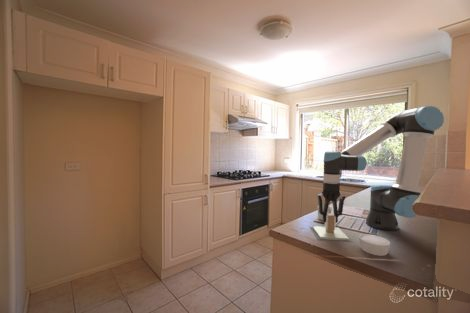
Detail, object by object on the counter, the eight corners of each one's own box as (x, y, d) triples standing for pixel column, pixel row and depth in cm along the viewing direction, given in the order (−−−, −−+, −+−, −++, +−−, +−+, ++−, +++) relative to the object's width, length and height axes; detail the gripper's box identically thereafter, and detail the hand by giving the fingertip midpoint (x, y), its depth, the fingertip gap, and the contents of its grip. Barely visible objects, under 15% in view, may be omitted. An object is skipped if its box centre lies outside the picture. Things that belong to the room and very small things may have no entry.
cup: (333, 224, 120) (334, 210, 120) (319, 223, 122) (319, 209, 122) (329, 218, 131) (329, 205, 131) (315, 217, 133) (316, 204, 132)
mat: (339, 229, 113) (340, 228, 113) (353, 243, 97) (353, 242, 97) (309, 227, 115) (309, 227, 115) (317, 241, 99) (317, 240, 99)
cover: (338, 229, 112) (338, 210, 111) (349, 240, 99) (349, 219, 98) (312, 228, 113) (313, 209, 113) (320, 238, 100) (320, 218, 100)
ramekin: (356, 243, 97) (357, 232, 97) (385, 247, 93) (386, 236, 93) (360, 254, 87) (361, 242, 87) (393, 260, 83) (394, 247, 83)
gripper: (345, 181, 108) (343, 226, 109) (312, 180, 109) (311, 224, 110) (351, 184, 100) (349, 232, 101) (316, 183, 102) (315, 230, 103)
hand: (329, 228), depth 106 cm, fingers closed on cover, 3 cm apart
